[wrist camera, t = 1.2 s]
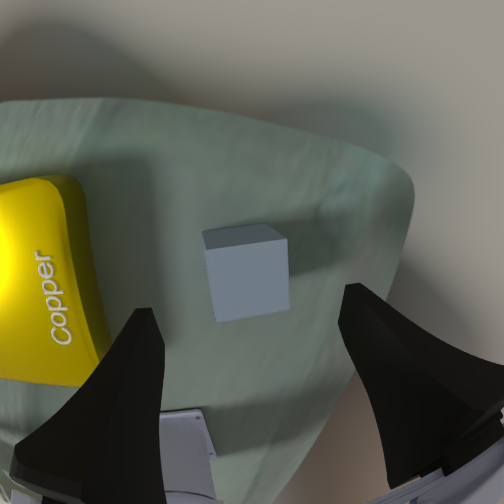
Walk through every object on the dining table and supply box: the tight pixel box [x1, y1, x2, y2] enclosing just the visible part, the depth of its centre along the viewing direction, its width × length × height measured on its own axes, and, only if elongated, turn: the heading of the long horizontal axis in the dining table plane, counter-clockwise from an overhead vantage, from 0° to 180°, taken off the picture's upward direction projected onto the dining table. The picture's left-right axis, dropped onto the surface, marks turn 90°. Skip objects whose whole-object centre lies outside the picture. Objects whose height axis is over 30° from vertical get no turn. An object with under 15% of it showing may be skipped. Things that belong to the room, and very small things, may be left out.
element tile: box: [0, 174, 111, 387], centre depth 15 cm, size 15×15×5 cm
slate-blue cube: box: [202, 223, 290, 323], centre depth 18 cm, size 4×4×4 cm
